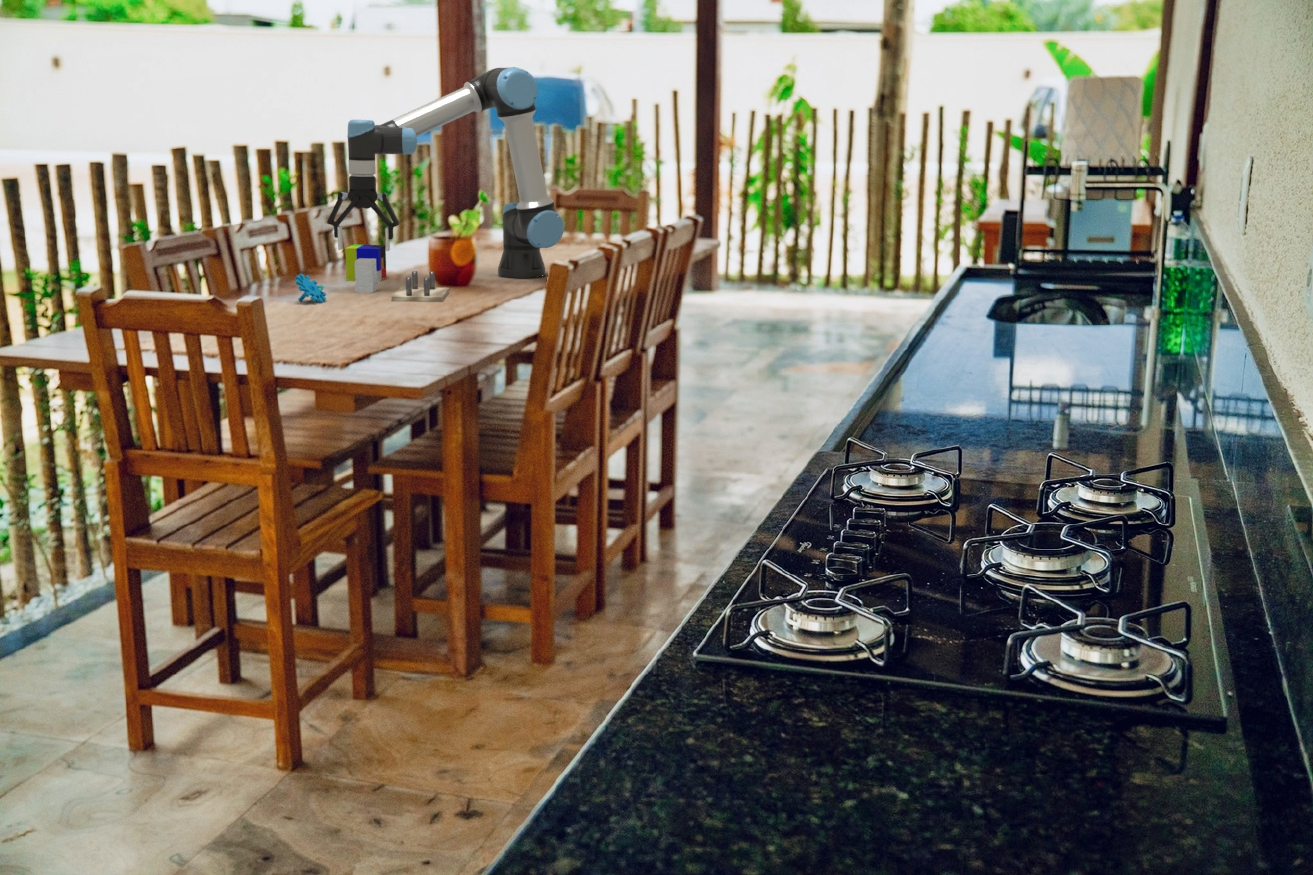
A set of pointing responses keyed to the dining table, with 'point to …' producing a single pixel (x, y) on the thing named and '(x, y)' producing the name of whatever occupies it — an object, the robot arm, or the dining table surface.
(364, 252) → the puzzle toy
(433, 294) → the peg fixture base
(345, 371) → the dining table surface
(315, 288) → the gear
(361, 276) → the jaw block
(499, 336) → the dining table surface
